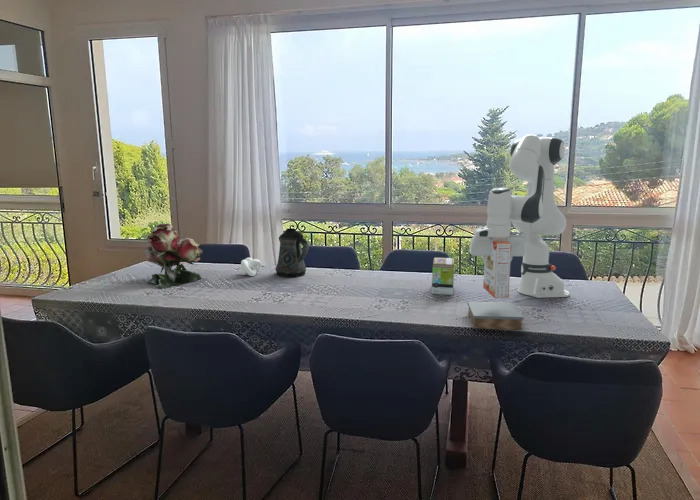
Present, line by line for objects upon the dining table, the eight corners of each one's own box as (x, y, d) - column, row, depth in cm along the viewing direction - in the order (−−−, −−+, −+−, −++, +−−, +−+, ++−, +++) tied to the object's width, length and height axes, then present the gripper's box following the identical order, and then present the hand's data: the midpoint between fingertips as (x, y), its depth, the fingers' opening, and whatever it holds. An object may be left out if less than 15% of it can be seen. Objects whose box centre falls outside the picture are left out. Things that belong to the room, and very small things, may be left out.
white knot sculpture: (233, 275, 266) (232, 259, 265) (249, 271, 276) (249, 255, 274) (248, 278, 260) (247, 261, 258) (264, 273, 270) (263, 257, 268)
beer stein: (280, 270, 278) (279, 226, 273) (314, 271, 275) (313, 226, 270) (271, 277, 262) (270, 230, 257) (307, 278, 259) (306, 231, 254)
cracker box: (482, 288, 196) (484, 236, 192) (497, 288, 197) (499, 236, 193) (493, 298, 183) (495, 242, 179) (509, 298, 183) (512, 242, 179)
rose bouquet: (210, 277, 263) (206, 221, 258) (164, 290, 239) (160, 228, 233) (177, 271, 276) (173, 218, 270) (131, 283, 252) (126, 225, 246)
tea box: (453, 295, 227) (454, 264, 224) (431, 294, 229) (432, 263, 226) (453, 286, 242) (454, 257, 239) (432, 285, 244) (433, 256, 241)
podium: (512, 314, 200) (512, 302, 199) (522, 330, 182) (523, 317, 181) (466, 313, 201) (467, 301, 200) (473, 328, 184) (473, 315, 183)
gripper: (524, 230, 187) (522, 265, 190) (469, 229, 189) (468, 264, 192) (529, 232, 181) (526, 269, 184) (472, 232, 183) (470, 268, 186)
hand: (496, 267), depth 188 cm, fingers closed on cracker box, 6 cm apart
